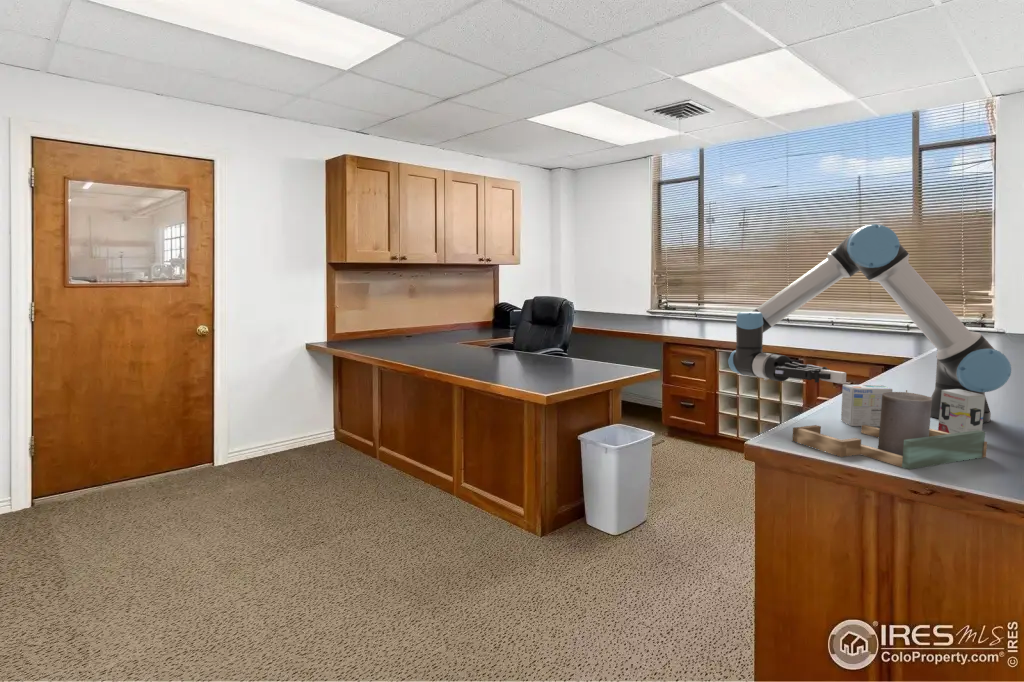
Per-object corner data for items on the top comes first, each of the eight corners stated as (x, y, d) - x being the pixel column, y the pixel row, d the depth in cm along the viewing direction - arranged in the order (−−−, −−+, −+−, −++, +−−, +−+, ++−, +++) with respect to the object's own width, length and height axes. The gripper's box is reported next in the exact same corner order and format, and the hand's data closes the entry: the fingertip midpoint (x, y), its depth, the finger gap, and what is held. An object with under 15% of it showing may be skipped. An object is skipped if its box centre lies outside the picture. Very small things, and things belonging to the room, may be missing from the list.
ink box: (936, 433, 157) (940, 388, 156) (953, 432, 157) (957, 388, 156) (963, 441, 148) (967, 395, 147) (982, 441, 149) (986, 394, 147)
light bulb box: (878, 421, 169) (881, 384, 168) (891, 427, 163) (894, 388, 161) (839, 420, 170) (841, 383, 169) (850, 426, 164) (852, 387, 162)
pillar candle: (869, 447, 143) (874, 385, 142) (913, 448, 142) (917, 386, 141) (891, 460, 134) (895, 394, 132) (937, 461, 133) (942, 395, 131)
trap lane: (792, 441, 148) (793, 417, 148) (881, 430, 159) (883, 408, 159) (888, 472, 125) (890, 444, 124) (985, 457, 136) (988, 431, 135)
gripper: (790, 378, 176) (862, 390, 154) (755, 381, 171) (824, 395, 149) (790, 352, 175) (863, 361, 153) (755, 355, 170) (825, 365, 148)
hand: (843, 378), depth 151 cm, fingers closed
